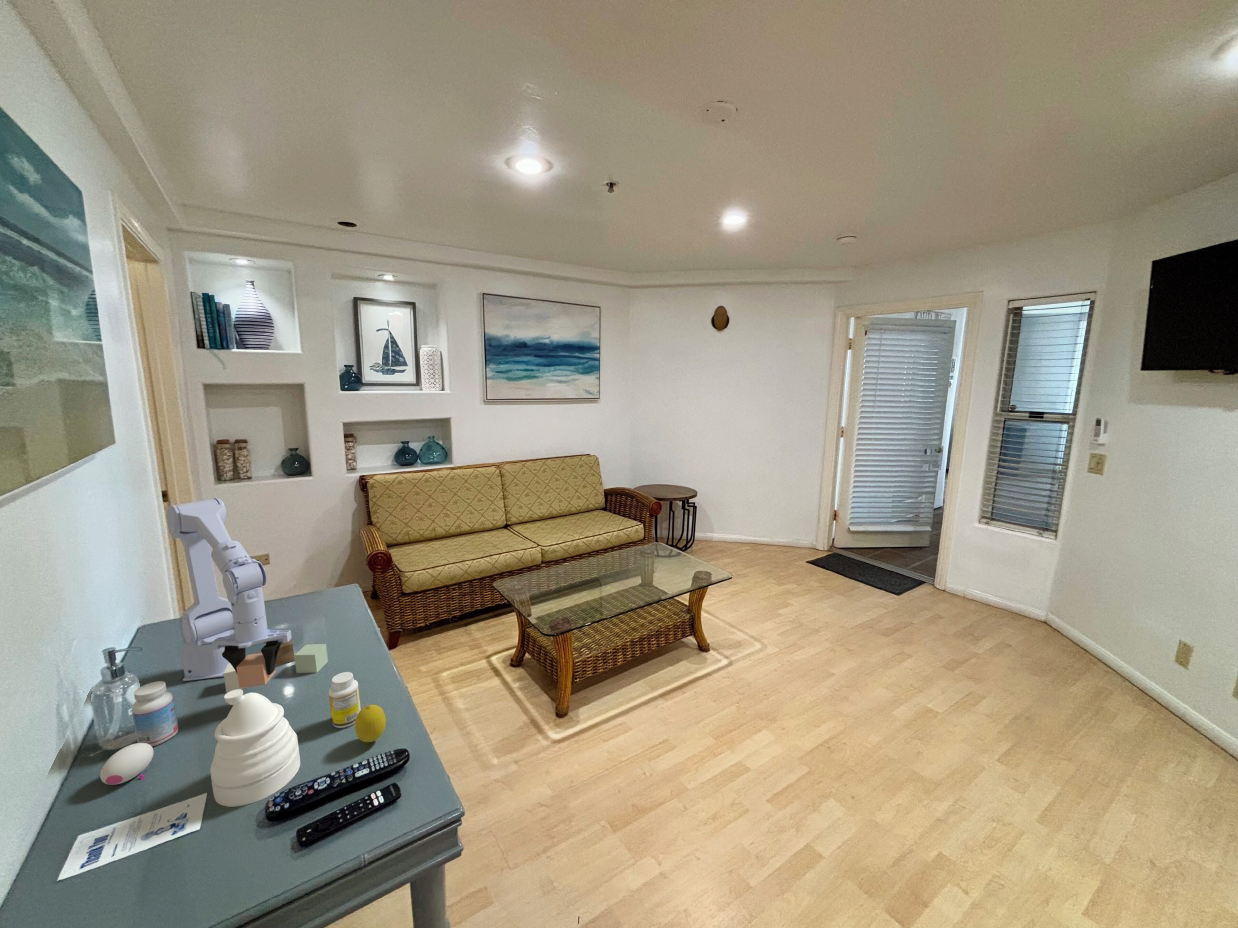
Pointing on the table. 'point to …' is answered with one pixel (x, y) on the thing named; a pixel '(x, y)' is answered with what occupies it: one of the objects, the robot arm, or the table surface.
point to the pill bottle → (154, 714)
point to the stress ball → (126, 763)
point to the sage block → (311, 658)
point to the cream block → (231, 679)
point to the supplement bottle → (344, 700)
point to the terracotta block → (253, 671)
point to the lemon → (370, 723)
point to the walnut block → (285, 654)
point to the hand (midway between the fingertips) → (257, 673)
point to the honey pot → (252, 751)
